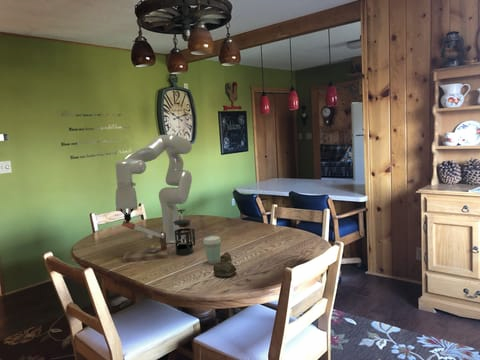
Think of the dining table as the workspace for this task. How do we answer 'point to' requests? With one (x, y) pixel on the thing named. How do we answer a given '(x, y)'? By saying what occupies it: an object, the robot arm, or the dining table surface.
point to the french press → (184, 244)
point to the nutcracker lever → (143, 230)
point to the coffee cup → (212, 249)
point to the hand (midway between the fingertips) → (127, 221)
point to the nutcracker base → (148, 253)
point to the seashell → (224, 266)
